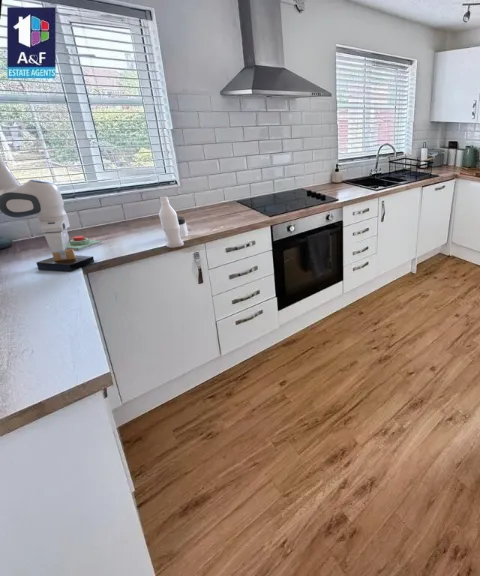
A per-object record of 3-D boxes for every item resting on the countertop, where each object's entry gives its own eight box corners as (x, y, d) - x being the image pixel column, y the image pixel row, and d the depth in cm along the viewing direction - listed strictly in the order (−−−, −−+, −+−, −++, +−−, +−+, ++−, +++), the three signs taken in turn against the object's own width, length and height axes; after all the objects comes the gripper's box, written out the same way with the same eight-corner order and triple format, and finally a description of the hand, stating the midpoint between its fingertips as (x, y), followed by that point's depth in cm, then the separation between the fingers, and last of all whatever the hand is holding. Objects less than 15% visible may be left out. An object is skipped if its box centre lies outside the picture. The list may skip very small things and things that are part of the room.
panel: (38, 269, 144) (36, 262, 143) (63, 261, 155) (61, 254, 153) (71, 272, 143) (69, 264, 142) (94, 263, 154) (92, 256, 152)
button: (71, 241, 169) (70, 237, 169) (79, 239, 173) (78, 235, 172) (79, 241, 169) (78, 238, 168) (87, 239, 173) (86, 236, 172)
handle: (54, 261, 145) (51, 251, 144) (55, 259, 147) (52, 250, 145) (75, 258, 149) (72, 250, 147) (75, 257, 150) (73, 248, 149)
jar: (174, 239, 191) (169, 216, 186) (191, 238, 193) (186, 215, 188) (168, 244, 183) (162, 221, 178) (186, 243, 185) (180, 220, 180)
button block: (59, 251, 167) (56, 242, 165) (83, 243, 179) (81, 235, 177) (79, 252, 166) (77, 244, 164) (102, 245, 178) (100, 236, 176)
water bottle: (171, 253, 170) (157, 199, 159) (165, 250, 174) (151, 197, 164) (187, 250, 175) (175, 197, 164) (181, 246, 179) (169, 194, 168)
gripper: (48, 218, 149) (58, 251, 154) (39, 229, 133) (50, 265, 138) (68, 217, 152) (77, 249, 157) (61, 227, 136) (72, 263, 141)
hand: (64, 257), depth 148 cm, fingers closed, pressing on handle
